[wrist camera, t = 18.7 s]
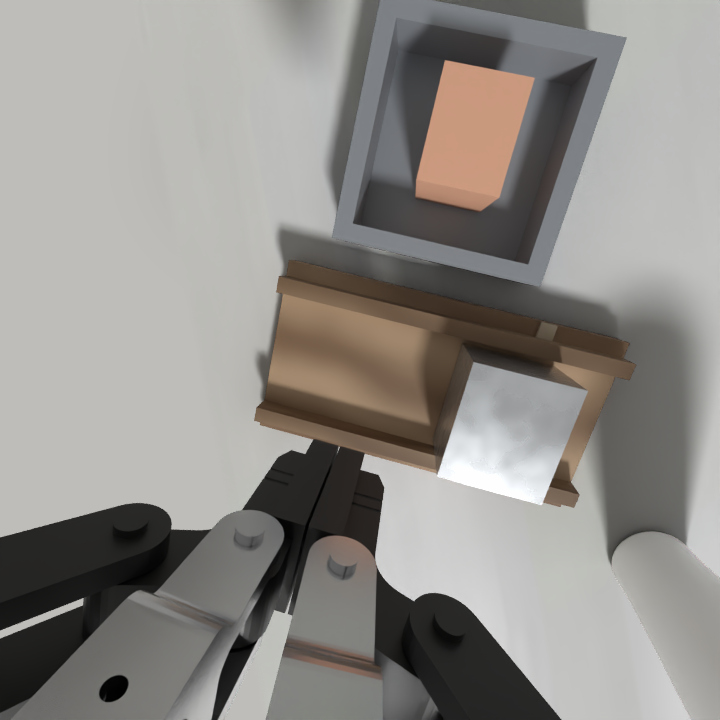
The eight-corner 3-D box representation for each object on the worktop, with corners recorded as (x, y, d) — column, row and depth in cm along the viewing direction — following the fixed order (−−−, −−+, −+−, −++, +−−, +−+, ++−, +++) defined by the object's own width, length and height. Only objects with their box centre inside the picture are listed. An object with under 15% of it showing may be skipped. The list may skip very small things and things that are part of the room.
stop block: (437, 109, 23) (444, 59, 18) (504, 123, 23) (534, 77, 17) (415, 198, 25) (416, 179, 19) (478, 212, 24) (499, 197, 19)
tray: (386, 34, 24) (381, -10, 20) (590, 75, 23) (626, 37, 19) (343, 240, 27) (331, 237, 23) (521, 282, 26) (540, 286, 22)
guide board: (295, 260, 27) (281, 260, 25) (617, 338, 26) (643, 348, 23) (267, 417, 31) (252, 433, 28) (553, 494, 29) (568, 520, 26)
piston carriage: (462, 343, 26) (473, 362, 21) (554, 366, 25) (588, 391, 21) (432, 438, 28) (436, 476, 23) (518, 462, 27) (541, 505, 22)
